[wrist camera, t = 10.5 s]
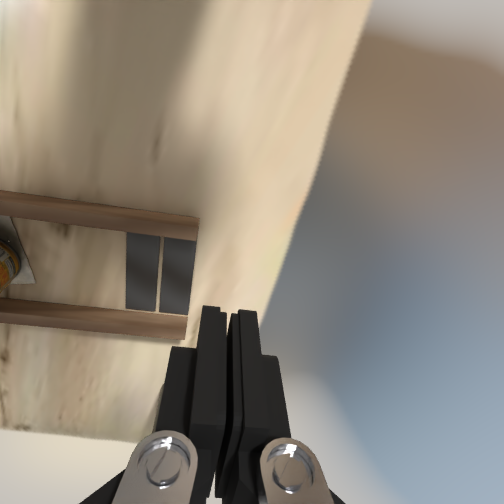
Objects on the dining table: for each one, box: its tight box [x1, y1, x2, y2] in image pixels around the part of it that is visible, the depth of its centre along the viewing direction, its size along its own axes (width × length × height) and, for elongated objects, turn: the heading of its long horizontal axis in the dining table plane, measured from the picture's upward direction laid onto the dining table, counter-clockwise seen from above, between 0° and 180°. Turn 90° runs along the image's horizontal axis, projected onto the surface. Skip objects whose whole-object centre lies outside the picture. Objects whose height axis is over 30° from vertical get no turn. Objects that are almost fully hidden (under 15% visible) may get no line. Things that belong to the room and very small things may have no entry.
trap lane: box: [0, 190, 200, 340], centre depth 38 cm, size 15×30×3 cm, turn 80°
